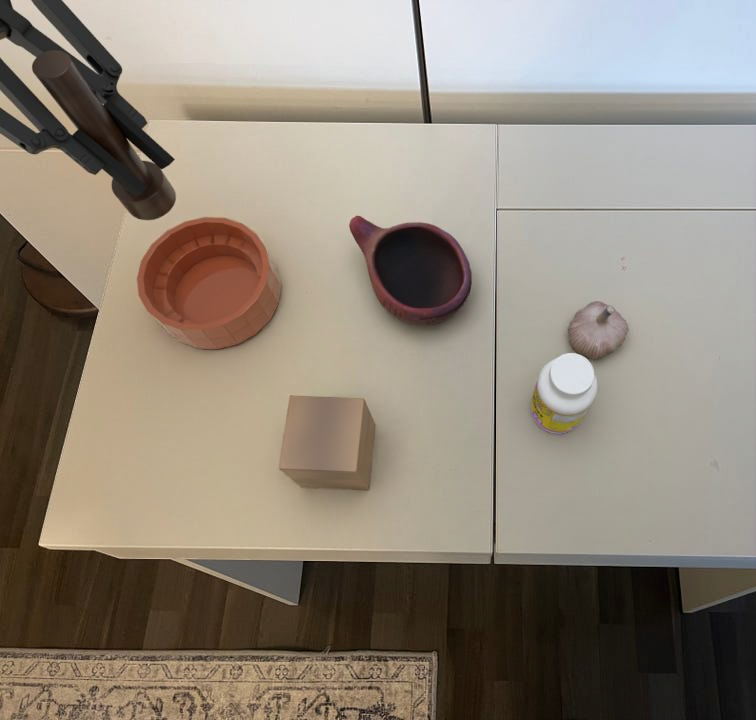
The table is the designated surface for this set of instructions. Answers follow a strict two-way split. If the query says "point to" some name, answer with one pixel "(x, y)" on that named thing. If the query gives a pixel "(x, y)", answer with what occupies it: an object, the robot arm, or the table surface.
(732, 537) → the table surface
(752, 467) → the table surface
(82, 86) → the cylinder
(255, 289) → the mixing bowl
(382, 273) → the bowl
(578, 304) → the table surface
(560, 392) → the supplement bottle
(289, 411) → the cube
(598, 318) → the garlic bulb
